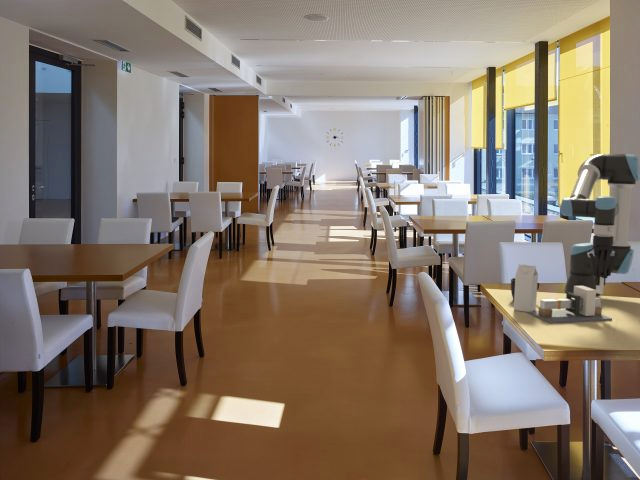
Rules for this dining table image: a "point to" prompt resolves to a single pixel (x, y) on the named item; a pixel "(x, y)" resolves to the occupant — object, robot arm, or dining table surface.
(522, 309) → the milk carton
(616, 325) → the dining table surface
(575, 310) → the ring
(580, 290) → the sleeve
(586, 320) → the board
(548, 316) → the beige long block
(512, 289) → the mug
